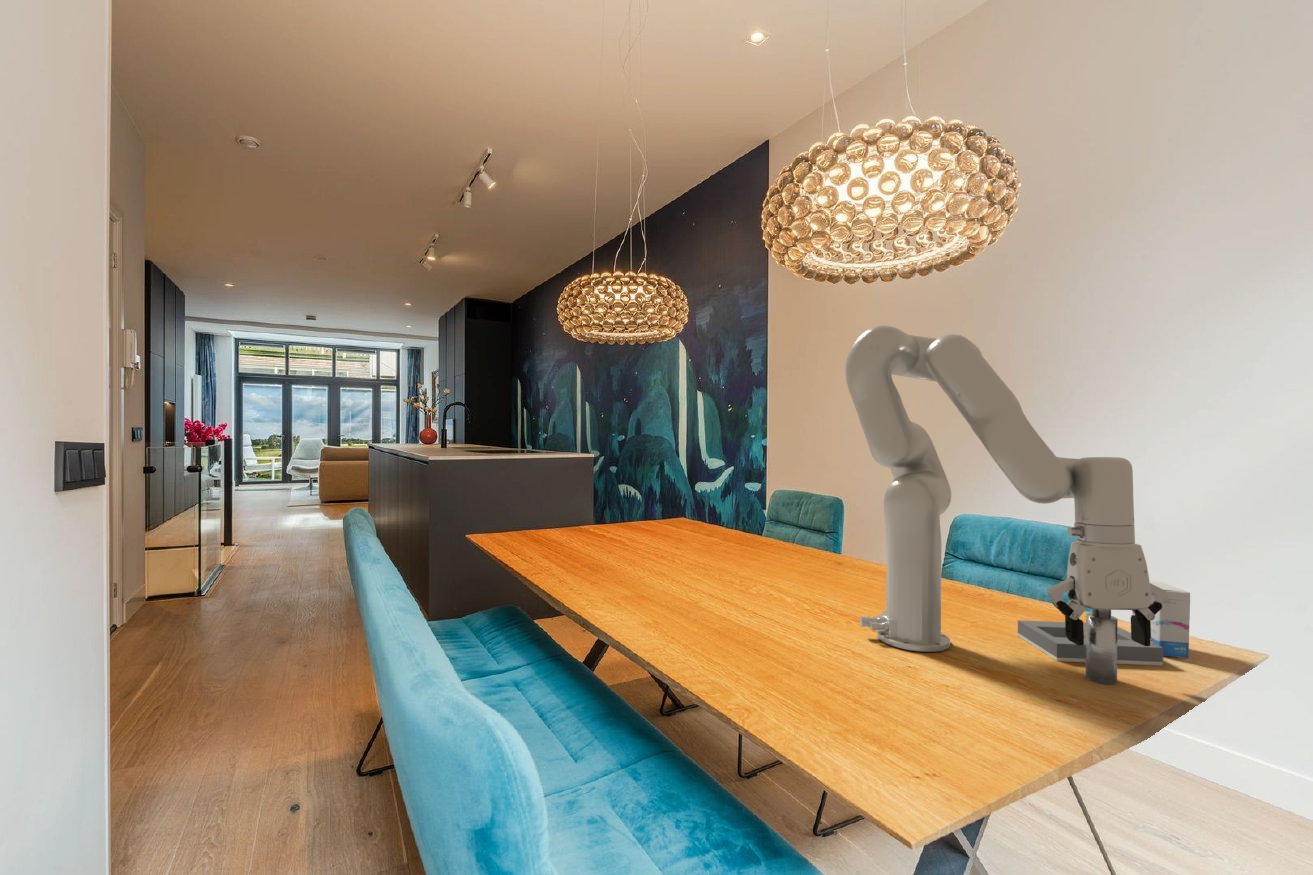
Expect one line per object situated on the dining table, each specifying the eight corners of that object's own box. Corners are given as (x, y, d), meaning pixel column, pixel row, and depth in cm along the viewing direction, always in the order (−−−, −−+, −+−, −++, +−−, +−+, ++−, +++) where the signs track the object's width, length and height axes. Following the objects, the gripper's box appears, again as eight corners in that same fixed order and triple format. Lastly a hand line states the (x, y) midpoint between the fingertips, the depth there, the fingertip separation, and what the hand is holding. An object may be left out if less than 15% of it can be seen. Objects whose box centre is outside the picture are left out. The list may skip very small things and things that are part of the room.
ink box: (1191, 658, 103) (1192, 591, 103) (1158, 656, 104) (1159, 589, 104) (1160, 642, 111) (1161, 579, 111) (1130, 640, 112) (1130, 578, 112)
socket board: (1056, 660, 101) (1057, 643, 101) (1017, 635, 114) (1017, 620, 114) (1162, 665, 100) (1163, 647, 100) (1111, 639, 113) (1111, 623, 113)
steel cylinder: (1095, 684, 92) (1096, 600, 92) (1079, 673, 96) (1080, 594, 96) (1123, 685, 91) (1123, 601, 91) (1106, 675, 95) (1106, 595, 95)
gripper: (1060, 538, 90) (1064, 650, 90) (1181, 538, 89) (1185, 652, 89) (1034, 531, 98) (1037, 634, 98) (1145, 531, 96) (1148, 636, 96)
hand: (1107, 642), depth 93 cm, fingers open, 9 cm apart
